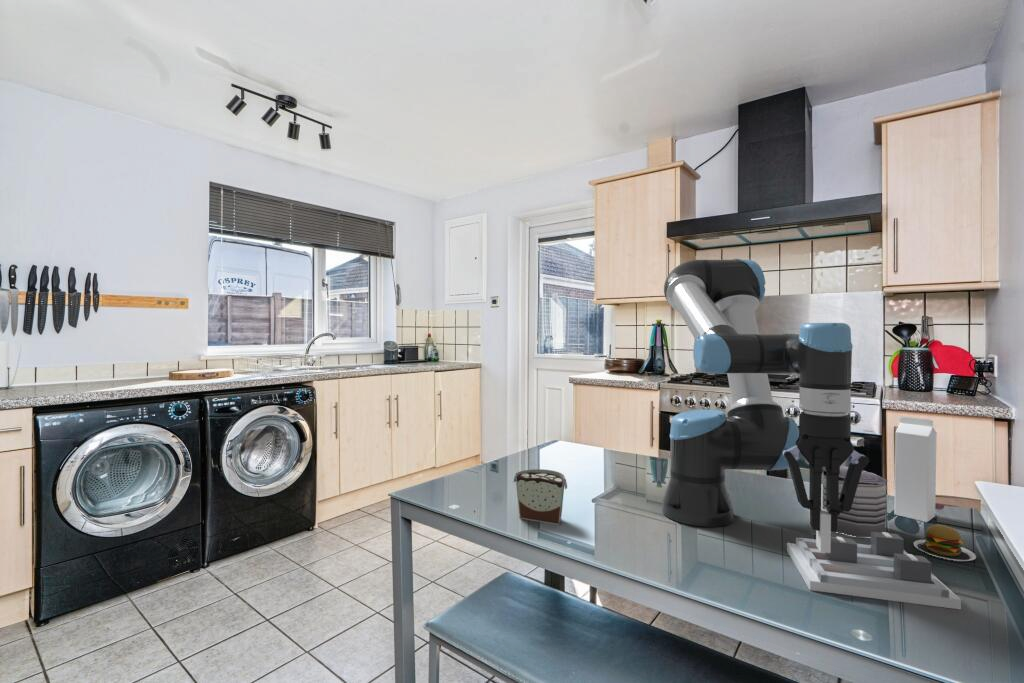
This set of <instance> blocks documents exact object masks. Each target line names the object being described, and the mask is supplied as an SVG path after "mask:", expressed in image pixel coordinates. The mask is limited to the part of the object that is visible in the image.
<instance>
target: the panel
mask: <svg viewBox="0 0 1024 683" xmlns="http://www.w3.org/2000/svg"><path fill="white" fill-rule="evenodd" d="M856 544H857V564H856V563H847V562H838V561H829V560H826V559H825V552H820V550H819V549H818V547H817V546H816V538H815V539H814V538H806V537H805V538H804V537H795V543H793V542H792V543H791V542H786V551H787V553H788V555H789V556H790V558H791V560H792V562H793V564H794V565H795V567H796V568H797V570H798V572H799V574H800V576H801V577H802V578H803V581H804V583H805V584H806V586H807V587H808V589H809V590H810V591H813V592H820V593H821V592H822V593H828V594H829V593H830V594H838V595H847V596H853V597H862V598H867V599H868V598H869V599H877V600H884V601H892V602H899V603H900V602H901V603H907V604H914V605H923V606H930V607H940V608H947V609H953V610H954V609H955V610H962V598H960V597H959V596H958V595H957V594H956V593H954V592H953V591H952V590H951V589H950V588H949V587H947V586H946V584H944V582H942V581H941V580H940V579H938V578H937V577H936V575H934V574H933V573H932V572H931V584H928V583H920V582H911V581H903V580H895V579H894V578H893V571H894V557H888V556H878V555H871V544H864V543H863V544H862V543H856ZM904 554H909V552H907V551H906V550H905V549H904Z"/></svg>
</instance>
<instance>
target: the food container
mask: <svg viewBox="0 0 1024 683" xmlns="http://www.w3.org/2000/svg"><path fill="white" fill-rule="evenodd" d="M513 483H515V484H516V485H515V486H516V495H517V496H516V497H517V504H518V506H517V507H518V515H519V520H526V521H533V522H538V523H545V524H550V525H556V526H560V525H561V522H562V514H563V505H564V504H563V502H564V495H565V494H564V493H565V490H567V489H568V482H567V479H566V477H565V475H564V473H562V472H559V471H556V470H551V469H544V468H543V469H542V468H541V469H540V468H539V469H537V468H535V469H526V470H519V471H518V472H515V475H514V478H513Z"/></svg>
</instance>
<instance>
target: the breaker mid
mask: <svg viewBox="0 0 1024 683" xmlns="http://www.w3.org/2000/svg"><path fill="white" fill-rule="evenodd" d="M857 544H858V543H856V541H855V540H854V539H853V538H848V537H846V538H845V537H843V536H831V553H826V552H825V559H826V560H829V561H838V562H847V563H856V564H857Z"/></svg>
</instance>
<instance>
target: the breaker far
mask: <svg viewBox="0 0 1024 683" xmlns="http://www.w3.org/2000/svg"><path fill="white" fill-rule="evenodd" d="M904 544H905V539H904V538H902V537H901V535H899V534H897V533H892V532H891V533H889V532H882V533H880V532H871V539H870V545H871V555H878V556H888V557H894V553H896V554H904V550H905V549H904Z"/></svg>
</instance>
